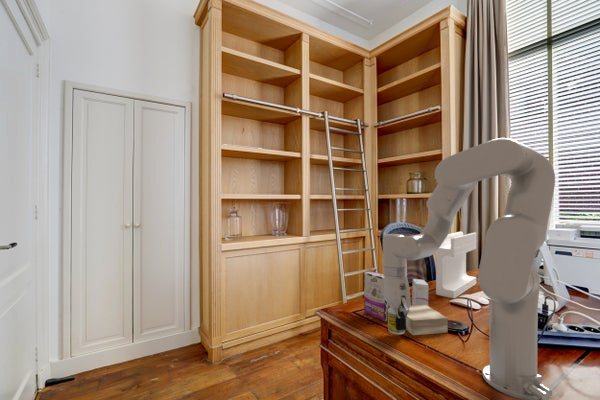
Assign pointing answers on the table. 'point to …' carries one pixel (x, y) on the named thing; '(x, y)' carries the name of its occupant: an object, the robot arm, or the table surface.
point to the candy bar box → (374, 295)
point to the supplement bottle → (393, 320)
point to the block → (454, 265)
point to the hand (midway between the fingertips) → (396, 325)
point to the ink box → (420, 292)
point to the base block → (425, 321)
